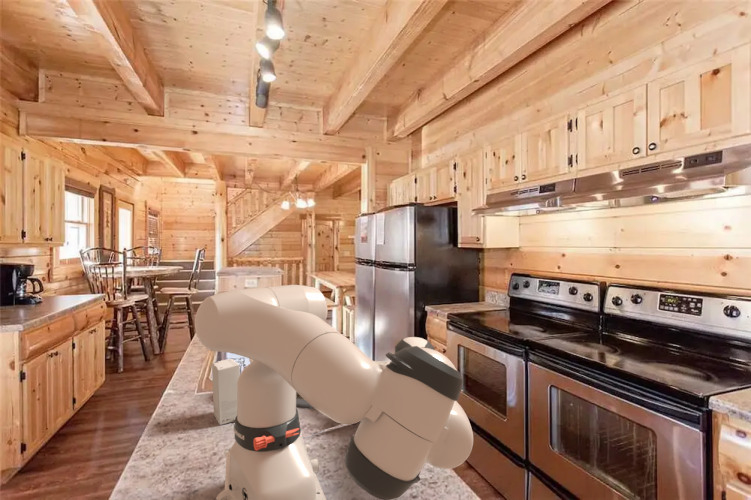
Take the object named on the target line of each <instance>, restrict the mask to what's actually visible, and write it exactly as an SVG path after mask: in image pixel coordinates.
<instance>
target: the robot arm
mask: <svg viewBox="0 0 751 500" xmlns="http://www.w3.org/2000/svg"><path fill="white" fill-rule="evenodd" d="M328 311H329V310H328V303H327V300H326V298H325V296H324V294H323V293H322V292H321V290H319V288H317V287H314V286H309V285H302V284H284V285H273V286H264V287H254V288H253V287H252V288H240V289H232V290H231V289H230V290H228V291H227V290H226V291H224V292H221V293H220V292H219V293H217V294H214V295H210V296H207V297H206V298H204V300H203V301H202V302H201V303H200V305H199V307H198V308H197V310H196V313H195V317H194V331H195V334H196V335H197V339H198V340H199V342H200V343H201V345H203V346H204V347H205V348H206V349H207V350H209V351H211V352H219V353H227V354H232V355H233V354H234V355H238V356H242V357H244V358H247V359H248V360H249V359H252V360H254V361H253V362H252V363H250V362H249V363H248V365H246V366H245V367H244V369H242V370H241V373H240V376H239V378H238V381H237V416H236V418H235V422H234V425H233V432H234V443H233V444H232V447H230V449H229V450H228V452H227V453H226V455H225V456H226V459H225V475H224V476H225V479H224V489H223V490H222V491H220V492H219V493H218V494H217V496H216V498H215V500H327V498H326V495H325V494H324V493H325V492H324V491H323V488H322V486H321V483H320V481H319V479H318V476H317V474H316V473H318V472H320V465H319V460H318V459H317V458H314V459H310V457H309V452H310V445H309V443H308V444H307V443H306V444H305V441H304V438H303V433H302V429H301V420H300V415H299V411H298V409H297V407H296V392H297V393H298V394H299V395H300V396H301V397H302V398H303V399H304V400H305V401H307V402H308V403H309V404H310V405H311V406H313V407H314V408H315V409H316V410H315V411H318V412H320V413H321V414H322V415H323V416H325V417H326V418H329V420H332V421H333V422H335V423H338V424H341V425H353V424H354V425H355V424H357V423H359V424H358V426H357V429H356V431H355V434H354V435H352V436H351V438H350V440H349V443H348V445H347V449H346V451H345V456H344V465H345V467H346V470H347V472H348V475H349V477H350V478H351V479H352V480H353V481H354V483H356V485H358V487H360V488H361V489H362V490H363V491H364V492H365V493H367V494H368V495H371V496H372V497H374V498H377V499H379V500H394V499H398V498H400V497H402V495H404V493H406V491H408V490H409V489H410V488H411V487H412V485H414V484H417V483H419V481H420V480H421V477H420V474H421V470H422V469H423V468H424V466H425V464H429V465H430V466H433V467H435V468H437V469H440V470H450V469H452V470H453V469H455V468H457V467H459V466H461V465H462V464H463V463H465V462H466V460H467V459H468V458H469V457H470V455H471V453H472V450H473V445H474V433H473V429H472V426H471V423H470V420H469V418H468V416H467V414H466V412H465V409H464V408H463V407H462V405H460V403H458V401H459V399H460V396H461V393H462V387H463V382H464V379H463V377H462V374H461V372H460V371H459V370H457V368H456V366H455V364H454V363H453V362H452V361H451V360H450V359H449V358H448V357H447V356H445V355H444V354H443V353H441V352H440V351H438V350H435V347H434V346H433V345H432V343H431V342H430V341H429V340H427V339H424V338H423V337H417V336H410V337H409V336H408V337H403V338H402V339H401V340H400V341H398V343H396V344H395V346H394V353H392V352H389V351H388V352H387V353H386V354H385V357H386V358H387V359H388V360H390V361H385V360H382V361H381V360H380V361H379V360H373V359H372V358H370V357H369V356H367V354H365V352H363V351H362V350H361V349H360V348H359V347H358V346H357V345H356V344H355V343H354V342H353V341H351V340H350V339H349V338H348V337H346V336H345V335H344V334H342V333H341V332H339V331H338V330H337V329H336V328H334V327H333V326H332V325H330V324H329V323H327V322H326V321H327V318H328Z"/></svg>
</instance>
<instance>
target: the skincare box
mask: <svg viewBox="0 0 751 500" xmlns="http://www.w3.org/2000/svg"><path fill="white" fill-rule="evenodd" d="M211 373H212V376H211V377H212V395H213V396H212V401H213V402H212V403H213V405H212V406H213V416H214V417H215V419H216V422H217V423H218V425H219V426H223V425H225V424H229V423H235V418H236V416H237V381H238V378H239V376H240V374H241V373H240V364H239V363H238V362H237V361H235V359H234V358H229V359H223V360H219V361H214V362H212V363H211Z"/></svg>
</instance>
